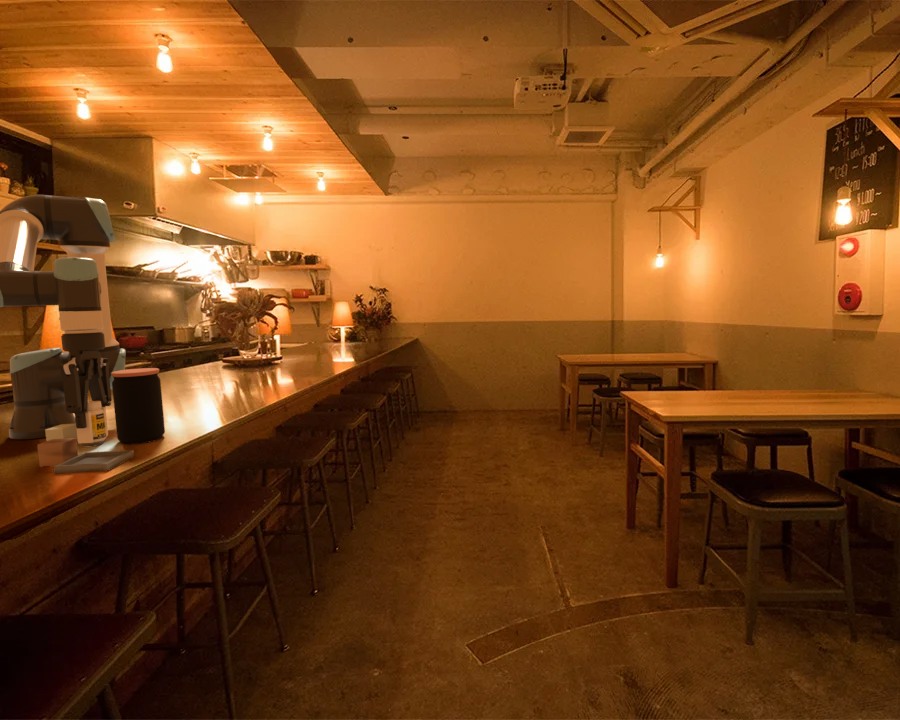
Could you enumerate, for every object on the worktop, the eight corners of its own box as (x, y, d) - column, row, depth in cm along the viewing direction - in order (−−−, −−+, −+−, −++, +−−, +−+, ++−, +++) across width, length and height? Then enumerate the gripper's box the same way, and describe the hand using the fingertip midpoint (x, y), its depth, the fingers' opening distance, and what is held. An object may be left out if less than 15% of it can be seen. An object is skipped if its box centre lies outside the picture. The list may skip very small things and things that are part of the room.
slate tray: (85, 458, 119) (84, 452, 119) (134, 456, 120) (133, 450, 120) (54, 473, 109) (53, 466, 109) (107, 470, 110) (107, 463, 109)
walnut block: (55, 460, 119) (52, 439, 118) (78, 459, 119) (76, 437, 119) (39, 467, 114) (37, 444, 114) (64, 466, 114) (61, 443, 114)
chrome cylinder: (91, 441, 135) (88, 422, 134) (107, 441, 134) (105, 422, 134) (78, 446, 130) (75, 427, 130) (94, 446, 130) (91, 427, 129)
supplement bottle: (101, 442, 112) (97, 403, 111) (76, 444, 111) (72, 405, 110) (109, 437, 117) (106, 399, 116) (85, 438, 115) (81, 401, 115)
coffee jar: (174, 434, 141) (168, 367, 139) (147, 444, 130) (140, 373, 128) (136, 434, 142) (130, 368, 140) (107, 444, 131) (100, 373, 130)
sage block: (63, 443, 135) (61, 424, 134) (79, 442, 135) (77, 423, 134) (47, 449, 129) (45, 429, 128) (64, 448, 129) (62, 429, 129)
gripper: (89, 330, 120) (99, 430, 122) (34, 334, 102) (47, 451, 105) (123, 329, 120) (133, 429, 123) (74, 333, 103) (86, 449, 105)
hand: (93, 439), depth 114 cm, fingers closed on supplement bottle, 5 cm apart
